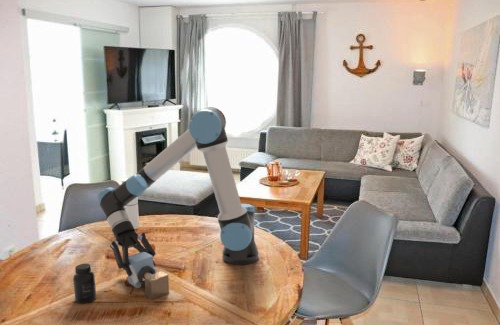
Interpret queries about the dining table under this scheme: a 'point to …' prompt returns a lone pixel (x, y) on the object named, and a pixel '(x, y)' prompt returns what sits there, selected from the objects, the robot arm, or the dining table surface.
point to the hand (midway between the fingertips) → (146, 279)
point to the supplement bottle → (84, 284)
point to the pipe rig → (156, 284)
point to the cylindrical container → (132, 210)
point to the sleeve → (139, 264)
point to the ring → (143, 270)
